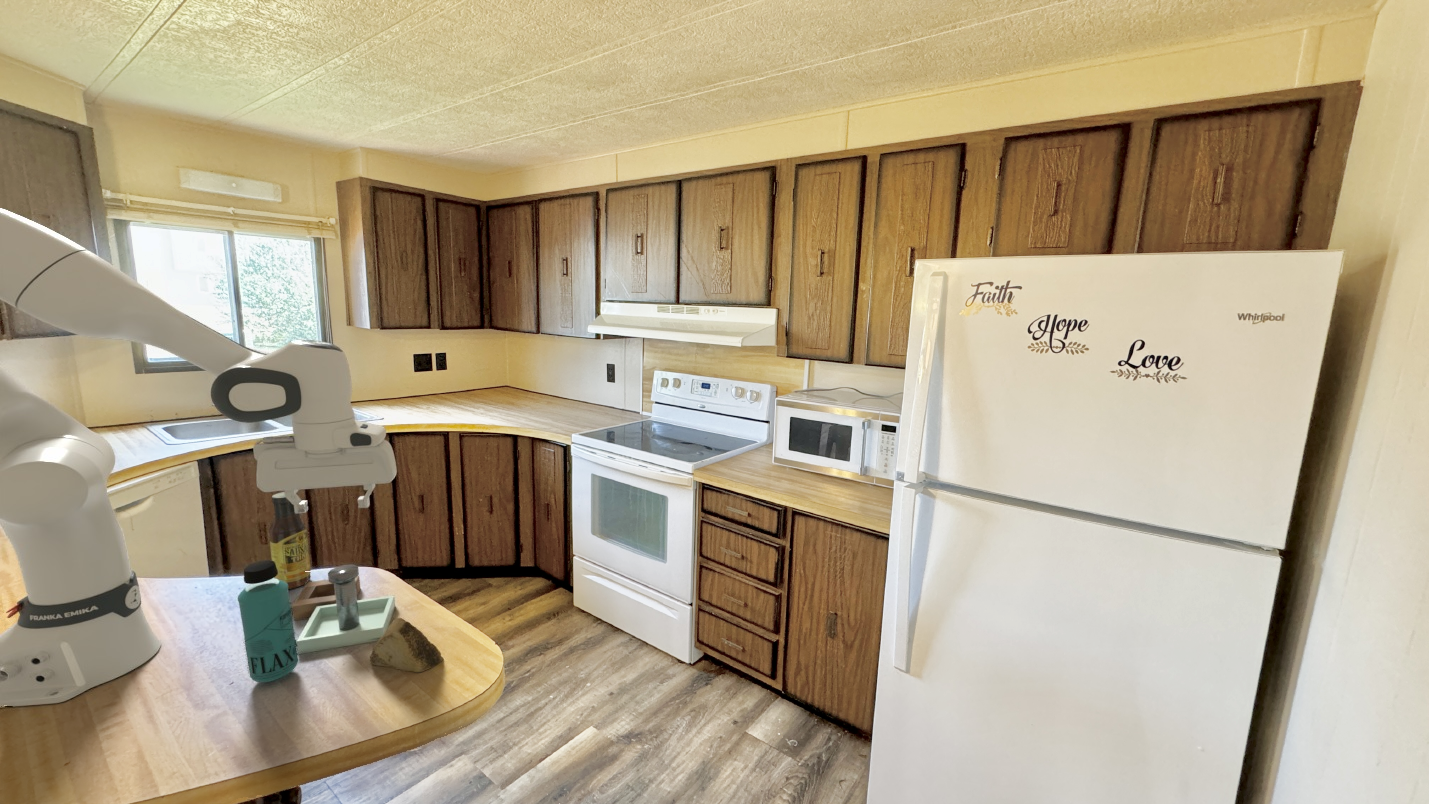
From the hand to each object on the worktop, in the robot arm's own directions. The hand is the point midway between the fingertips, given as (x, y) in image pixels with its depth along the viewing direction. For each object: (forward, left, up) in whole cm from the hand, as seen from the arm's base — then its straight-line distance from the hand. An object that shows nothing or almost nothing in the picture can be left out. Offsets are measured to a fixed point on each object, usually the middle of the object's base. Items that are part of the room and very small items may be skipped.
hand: (333, 509), depth 98 cm
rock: (+12, -14, -24) cm, 30 cm away
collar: (-5, +10, -24) cm, 26 cm away
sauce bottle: (-14, +21, -24) cm, 35 cm away
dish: (+1, 0, -24) cm, 24 cm away
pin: (0, 0, -23) cm, 23 cm away
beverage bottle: (-7, -11, -24) cm, 27 cm away
